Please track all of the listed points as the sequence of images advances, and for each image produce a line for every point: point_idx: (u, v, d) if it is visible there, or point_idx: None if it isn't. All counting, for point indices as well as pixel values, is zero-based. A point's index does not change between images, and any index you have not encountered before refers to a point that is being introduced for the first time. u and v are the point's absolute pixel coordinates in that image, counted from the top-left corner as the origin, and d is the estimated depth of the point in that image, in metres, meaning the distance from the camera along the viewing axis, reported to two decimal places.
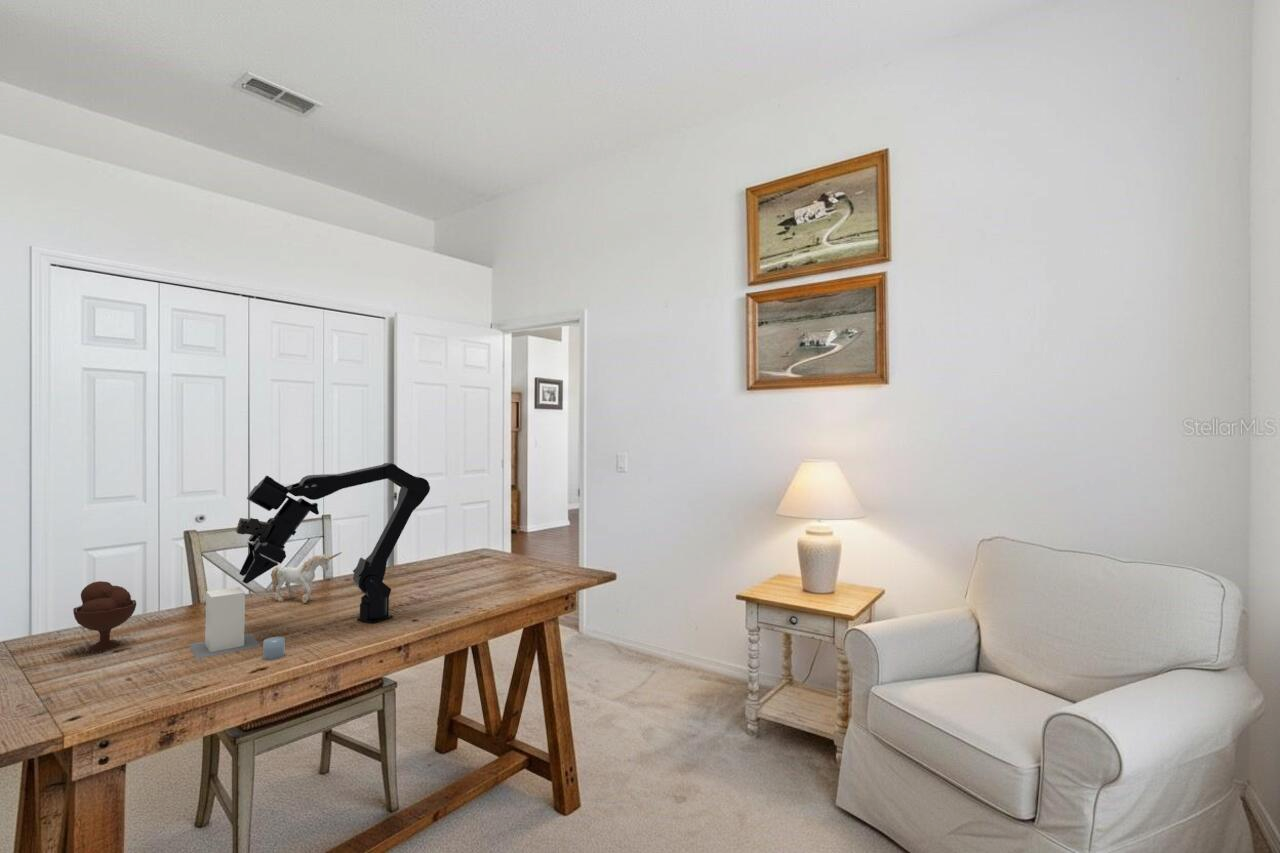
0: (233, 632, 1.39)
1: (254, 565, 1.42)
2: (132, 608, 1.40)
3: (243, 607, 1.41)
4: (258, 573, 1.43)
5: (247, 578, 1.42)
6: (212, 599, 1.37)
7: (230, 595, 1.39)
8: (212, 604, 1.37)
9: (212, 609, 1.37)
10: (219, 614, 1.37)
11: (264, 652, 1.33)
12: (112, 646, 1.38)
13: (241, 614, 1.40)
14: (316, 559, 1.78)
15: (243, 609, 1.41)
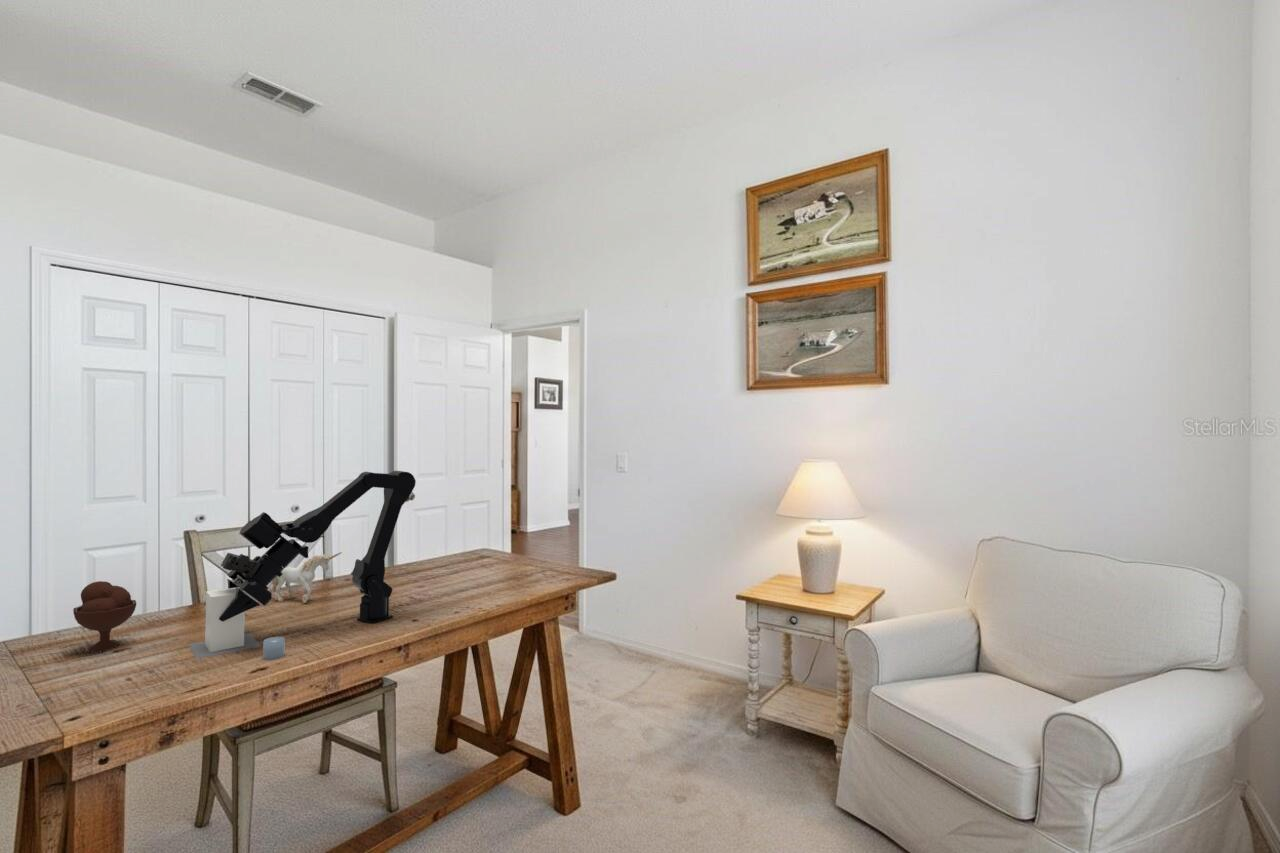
0: (233, 632, 1.39)
1: (235, 603, 1.38)
2: (132, 608, 1.40)
3: None
4: (237, 612, 1.39)
5: (224, 616, 1.38)
6: (212, 599, 1.37)
7: (230, 595, 1.39)
8: (212, 604, 1.37)
9: (212, 609, 1.37)
10: (219, 614, 1.37)
11: (264, 652, 1.33)
12: (112, 646, 1.38)
13: (241, 614, 1.40)
14: (316, 559, 1.78)
15: None
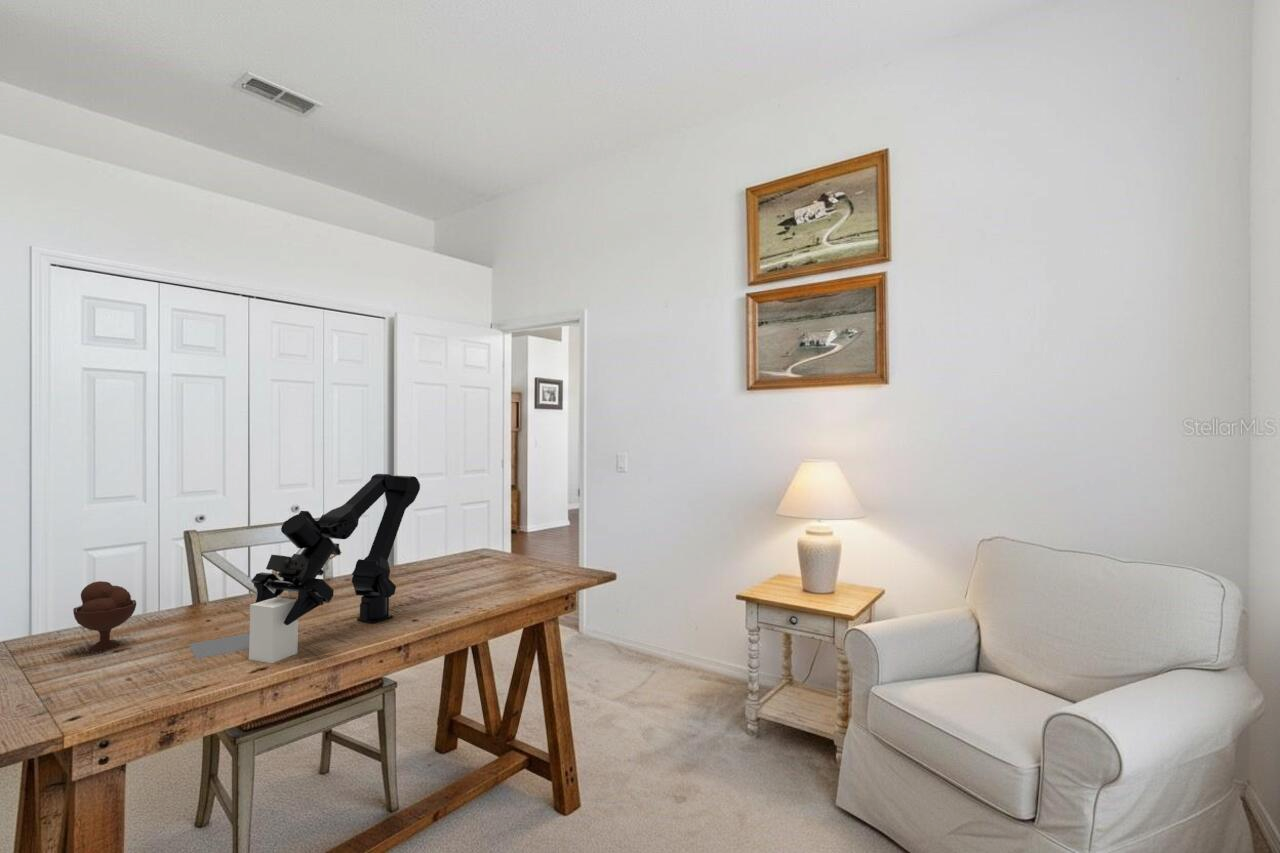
0: (289, 641, 1.35)
1: (300, 604, 1.34)
2: (132, 608, 1.40)
3: None
4: (301, 614, 1.34)
5: (290, 619, 1.32)
6: (274, 609, 1.31)
7: (287, 604, 1.34)
8: (274, 615, 1.31)
9: (274, 620, 1.31)
10: (279, 624, 1.32)
11: None
12: (112, 646, 1.38)
13: (295, 622, 1.36)
14: None
15: None
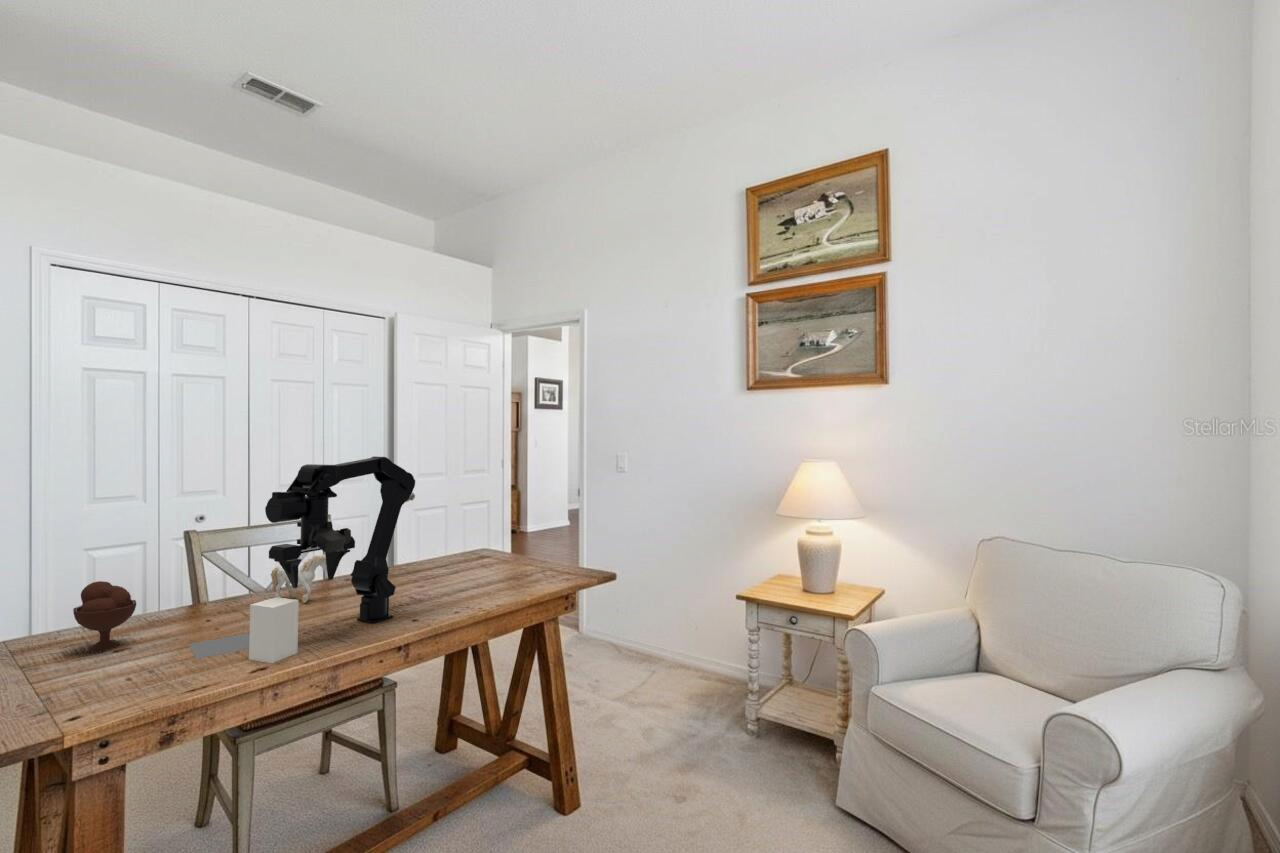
0: (289, 641, 1.35)
1: None
2: (132, 608, 1.40)
3: (297, 615, 1.37)
4: None
5: None
6: (274, 609, 1.31)
7: (287, 604, 1.34)
8: (274, 615, 1.31)
9: (274, 620, 1.31)
10: (279, 624, 1.32)
11: None
12: (112, 646, 1.38)
13: (295, 622, 1.36)
14: (316, 559, 1.78)
15: (297, 617, 1.37)
